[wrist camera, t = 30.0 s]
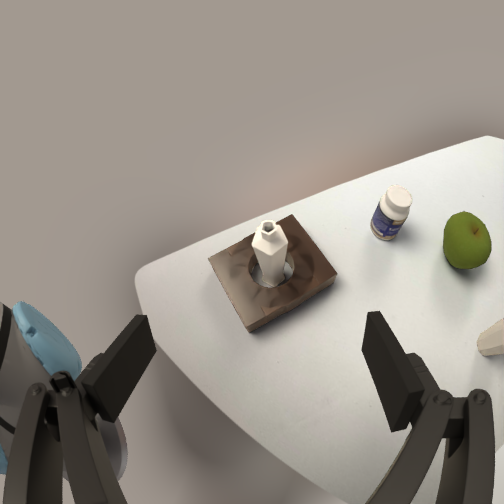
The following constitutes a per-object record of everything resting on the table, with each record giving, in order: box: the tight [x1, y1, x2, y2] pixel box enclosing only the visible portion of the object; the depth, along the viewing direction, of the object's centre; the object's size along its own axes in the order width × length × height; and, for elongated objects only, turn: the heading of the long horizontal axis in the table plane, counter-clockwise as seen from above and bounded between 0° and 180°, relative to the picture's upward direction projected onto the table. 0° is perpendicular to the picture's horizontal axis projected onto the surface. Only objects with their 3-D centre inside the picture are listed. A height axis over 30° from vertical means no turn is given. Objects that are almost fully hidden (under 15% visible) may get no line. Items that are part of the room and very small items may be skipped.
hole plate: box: [208, 214, 337, 333], centre depth 45 cm, size 16×13×4 cm
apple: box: [443, 211, 491, 269], centre depth 39 cm, size 11×10×10 cm
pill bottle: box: [370, 185, 412, 240], centre depth 44 cm, size 6×6×10 cm
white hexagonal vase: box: [252, 220, 288, 287], centre depth 40 cm, size 5×4×15 cm
